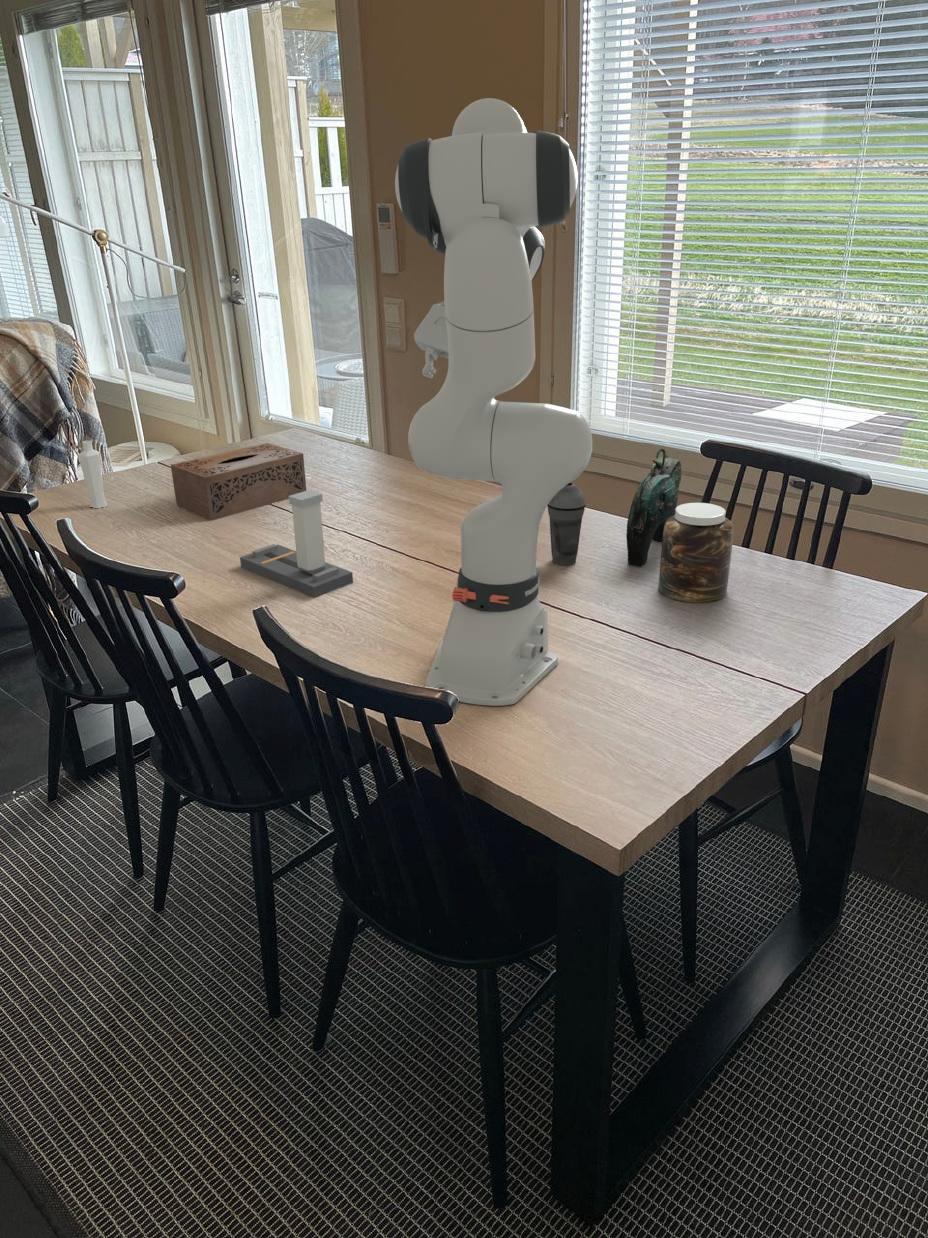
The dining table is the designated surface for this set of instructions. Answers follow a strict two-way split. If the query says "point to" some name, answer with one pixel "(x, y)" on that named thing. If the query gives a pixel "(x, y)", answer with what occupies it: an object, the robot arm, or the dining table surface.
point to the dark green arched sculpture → (652, 507)
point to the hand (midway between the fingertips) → (448, 383)
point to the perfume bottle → (92, 475)
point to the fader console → (294, 571)
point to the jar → (696, 553)
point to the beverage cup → (566, 524)
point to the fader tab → (308, 531)
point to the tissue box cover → (238, 480)
